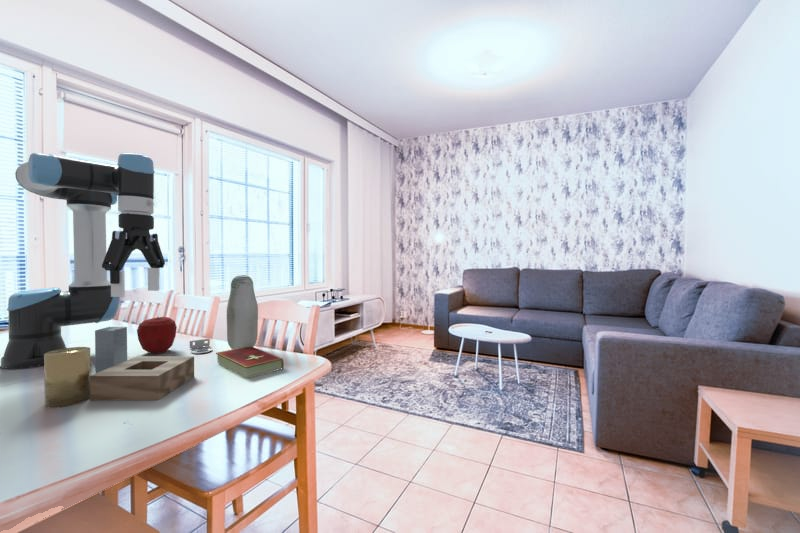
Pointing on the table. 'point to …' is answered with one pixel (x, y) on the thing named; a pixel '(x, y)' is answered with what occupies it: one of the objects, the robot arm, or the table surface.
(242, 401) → the table surface
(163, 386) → the socket block
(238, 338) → the grey rounded tall shape
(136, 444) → the table surface
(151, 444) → the table surface
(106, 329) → the square bit
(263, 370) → the hardcover book
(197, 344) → the bracket
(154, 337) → the apple
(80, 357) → the round bit
